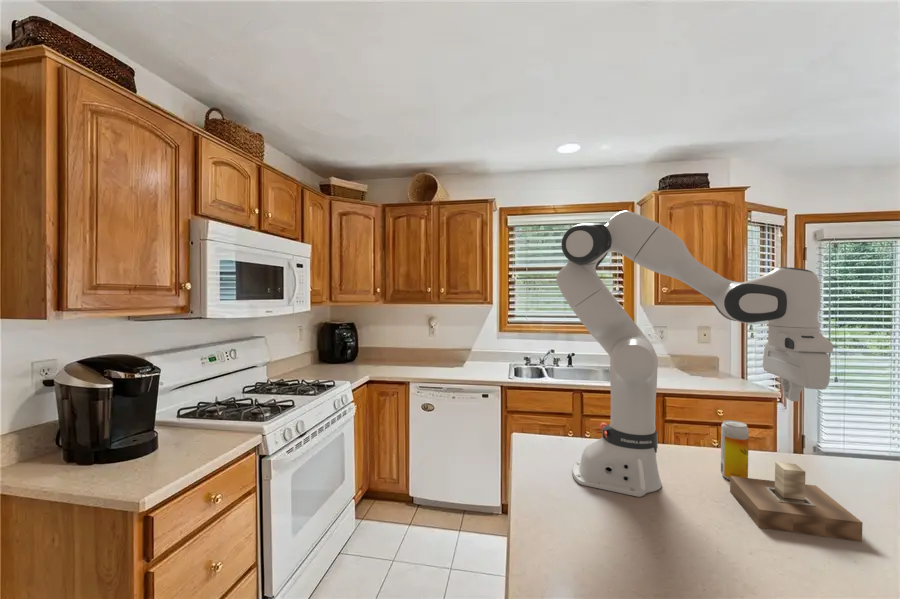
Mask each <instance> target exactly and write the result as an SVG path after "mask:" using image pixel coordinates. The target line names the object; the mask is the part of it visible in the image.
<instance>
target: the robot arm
mask: <svg viewBox="0 0 900 599" xmlns="http://www.w3.org/2000/svg"><path fill="white" fill-rule="evenodd" d="M560 243H561V250H562V253H563V255H564V257H565V258H566V259H567V260H568V261H567V263H566V264H565V265H564V266H562V268H561V269H559V272H558V273H557V276H556V279H555V280H556V284H557V287H558V288H559V290H560V292H561V294H562V296H563V298H564V299H565V301H566V303H567V304H568V306H569V307H570V309H572V311H573V312H574V314H575V315H576V317H577V318H578V319H579V321H580V322H581V323H582V325H583V326H584V328H585V329H586V330H587V331H588V333H589V334H590V335H591V336H592V338H594V339H595V340H596V341H597V343H598V344H599V345H600V346H601V347H602V349H604V351H605V352H606V353H607V355H608V356H609V357H610V359H609V362H610V363H609V364H610V366H609V370H610V371H609V372H610V373H609V374H610V375H609V379H610V380H609V381H610V383H609V384H610V423H609V424H607V423H606V422H603V421H602V422H600V424H599V428H600V430H601V431H602V433H601V434H602V437H601V438H599V439H597V440H596V441H593V442H592V443H591V444H589V445H587V446H586V447H585V448H584V449H583V450H582V451H583V452H582V454H581V458H580V460H577V461H575V462H574V463H573V466H572V476H573V478H574V480H575V481H576V483H578V484H580V486H581V485H582V486H585V487H589V488H596V489H600V490H605V491H609V492H615V493H619V494H624V495H629V496H634V497H640V498H641V497H643V496H645V495H646V494H649V493H652V492H653V493H654V492H656V491H659V490H660V489H661V488H662V485H663V483H662V479H661V477H660V472H659V468H658V462H657V452H658V444H659V443H658V440H659V439H658V438H659V436H658V431H657V430H656V416H657V415H656V412H657V410H656V407H657V406H656V405H657V404H656V401H657V388H658V384H657V383H658V364H659V363H658V361H659V360H658V354H657V353H656V351H655V348H654V346H653V344H652V343H651V342H650V340H649V339H648V338H647V336H646V334H644V333H643V331H642V330H641V329H640V327H639V326H638V325H637V324H636V322H635V321H634V320H633V319H632V317H631V316H630V315H629V314H628V313H627V311H626V310H625V308H623V306H622V305H621V303H620V302H619V301H618V299H617V298H616V297H615V296H614V294H613V293H612V292H611V291H610V289H609V288H608V287H607V286H606V285H605V283H604V282H603V281H602V279H601V277H600V276H599V275H598V272H597V270H596V269H597V268H598V267H599V265H600V264H601V263H602V262H603V260H604V259H605V258H606V257H607V256H608V253H611V252H613V253H614V252H615V253H618V254H621V255H623V256H624V257H626V258H627V259H629V260H630V261H632V262H633V263H636V264H637V265H639V266H641V267H643V268H645V269H647V270H649V271H652V272H654V273H657V274H659V275H664V276H667V277H670V278H672V279H675V280H678V281H680V282H682V283H684V284H685V285H687V286H689V287H690V288H692V289H693V290H695V291H697V292H698V293H700V294H702V295H703V296H704V297H706V298H707V299H708V300H710V301H711V302H712V304H713V305H714V307H715V308H716V310H717V312H718V313H719V314H721V316H722V317H724V318H725V319H727V320H730V321H732V322H738V323H742V324H755V323H756V324H757V323H760V322H768V328H767V330H768V331H767V332H768V334H767V335H768V337H767V342H766V343H765V345H764V349H763V357H762V368H763V370H764V372H766V373H769V374H772V375H774V376H777V377H779V378H780V380H779V381H780V385H781V387H782V388H781V389H782V392H783V395H782V396H783V398H785V399H787V400H789V401H790V402H799V401H800V394H801V393H802V391H803V389H804V388H805V389H809V390H825V389H827V387H828V386H829V384H830V380H831V378H830V377H831V367H832V366H831V364H832V363H831V358H830V355H829V354H831V353H833V351H834V346H833V345H834V344H833V342H831V341H830V340H829V339H827V338H826V337H825V336H824V335H823V334H822V333H820V323H819V318H818V315H819V313H820V312H819V311H820V309H821V286H820V281H819V277H818V275H817V274H816V273H815V272H814V271H812V270H809V269H806V268H799V267H792V266H791V267H788V266H782V267H781V266H779V267H775V268H774V269H773V270H771V271H770V272H768V273H766V274H765V273H764V274H763V275H760V276H758V277H755V278H753V279H750V280H746V281H734V280H731V279H728V278H725V277H724V276H722V275H721V274H719V273H718V272H716V271H714V270H712V269H710V268H709V267H707V266H705V265H704V264H702V263H701V262H699V261H698V260H697V259H696V258H695V257H694V256H693V255H692V253H691V252H690V250H689V249H688V247H687V245H686V243H685V242H684V240H683V239H681V238H680V237H679V236H678V235H677V234H675V233H674V232H673V231H672V230H670V229H669V228H667V227H665V226H664V225H663V224H661V223H659V222H656V221H655V220H653V219H651V218H648V217H646V216H644V215H642V214H638V213H635V212H633V211H629V210H621V211H619V212H617V213H616V214H614V215H613V216H612V217H611V218H610V219H609V220H608V222H607V223H606V224H603V223H587V222H586V223H585V222H583V223H578V224H575V225H573V226H571V227H569V228H568V229H567V231H565V233H564V234H563V237H562V238H561V242H560Z"/></svg>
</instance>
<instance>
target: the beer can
mask: <svg viewBox="0 0 900 599" xmlns="http://www.w3.org/2000/svg"><path fill="white" fill-rule="evenodd" d="M720 427H721V428H720V429H721V432H720V434H721V436H720V438H721V439H720V440H721V441H720V442H721V444H720V473H721V475H722V476H723V477H724V478H725V479H726V480H729V481H730V476H734V477H743V478H749V445H750V444H749V441H750V440H749V438H750V436H749V435H750V431H749V430H750V429H749V427H748V424H746V423H745V422H743V421H742V422H741V421H738V420H731V419H729V420H728V419H727V420H726V419H725V420H723V422H722V423H721V426H720Z"/></svg>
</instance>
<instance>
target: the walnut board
mask: <svg viewBox="0 0 900 599" xmlns="http://www.w3.org/2000/svg"><path fill="white" fill-rule="evenodd" d="M729 492H730V494H731V495H732V496H733V497H734V498H735V500H736V501H737V502H738V503H739V505H740V506H741V507H742V508H743V510H744V511H745V513H746V514H747V515H748V517H749V518H750V519H751V520H752V521H753V522H754V524H755V525H756V526H757V527H758V528H760V529H766V528H767V529H768V530H773V529H775V531H782V532H788V531H791V532H790V533H795V532H798V534H802V533H803V534H805V535H811V536H818V537H825V538H833V539H839V540H845V541H846V540H847V541H853V542H854V541H855V542H861V543H862V542H863V521H861V520H860V519H859V518H857V517H856V516H855V515H853V514H852V513H851V512H850V511H848V510H847V509H846V508H845V507H844V506H842V505H841V503H839V502H837V501H836V500H835V499H834V498H833V497H832V496H830V495H828V494H827V492H825V491H824V490H822V489H821V488H820V487H818V486H817V485H814V484H806V483H805V503H799V502H791V501H782V500H780V499H779V498H778V497H777V496H776V495H775V480H768V479H760V478H750V477H748V478H743V477H734V476H730V480H729Z"/></svg>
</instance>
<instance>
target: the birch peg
mask: <svg viewBox="0 0 900 599" xmlns="http://www.w3.org/2000/svg"><path fill="white" fill-rule="evenodd" d="M774 481H775V495H776V496H777V497H778V498H779V499H780V500H782V501H791V502H799V503H805V484H806V470H804V469H802V468H801V467H800V466H799V465H797V464H796V463H789V462H787V463H786V462H778V461H775V462H774Z"/></svg>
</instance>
